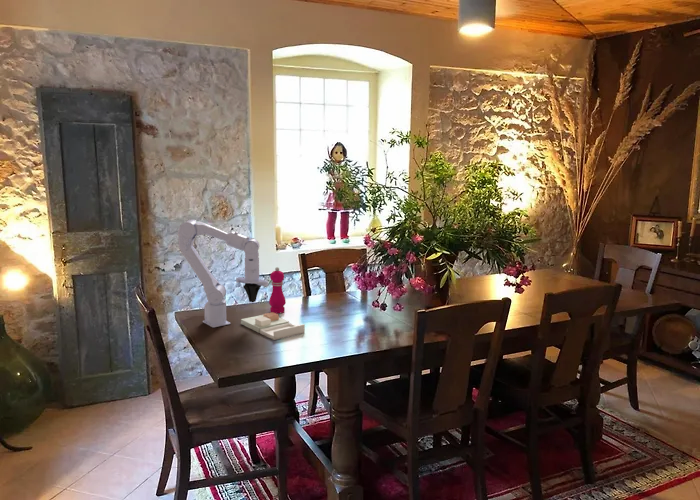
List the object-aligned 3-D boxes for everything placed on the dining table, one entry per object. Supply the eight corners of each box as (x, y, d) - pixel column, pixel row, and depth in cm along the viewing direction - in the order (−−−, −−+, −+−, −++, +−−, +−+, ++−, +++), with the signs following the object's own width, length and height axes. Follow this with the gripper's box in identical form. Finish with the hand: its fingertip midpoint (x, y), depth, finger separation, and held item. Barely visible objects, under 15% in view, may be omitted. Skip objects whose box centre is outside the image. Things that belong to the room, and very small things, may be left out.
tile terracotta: (263, 318, 231) (263, 313, 230) (272, 316, 234) (272, 312, 233) (269, 321, 227) (269, 316, 227) (278, 319, 230) (278, 314, 230)
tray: (259, 333, 219) (259, 324, 218) (289, 326, 228) (289, 318, 227) (274, 340, 211) (274, 331, 210) (304, 333, 220) (304, 324, 219)
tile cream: (255, 323, 224) (255, 318, 224) (264, 321, 227) (264, 316, 227) (261, 326, 221) (261, 321, 221) (270, 324, 224) (270, 319, 223)
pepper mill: (265, 312, 246) (265, 267, 243) (275, 308, 253) (275, 264, 249) (279, 314, 243) (279, 269, 240) (288, 310, 249) (288, 266, 246)
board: (241, 323, 230) (241, 319, 229) (270, 317, 239) (270, 313, 238) (258, 332, 219) (258, 327, 219) (288, 326, 228) (288, 321, 228)
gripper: (231, 268, 226) (231, 301, 228) (261, 272, 220) (261, 306, 222) (242, 265, 232) (242, 297, 235) (271, 269, 226) (271, 302, 228)
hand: (252, 301), depth 229 cm, fingers closed
